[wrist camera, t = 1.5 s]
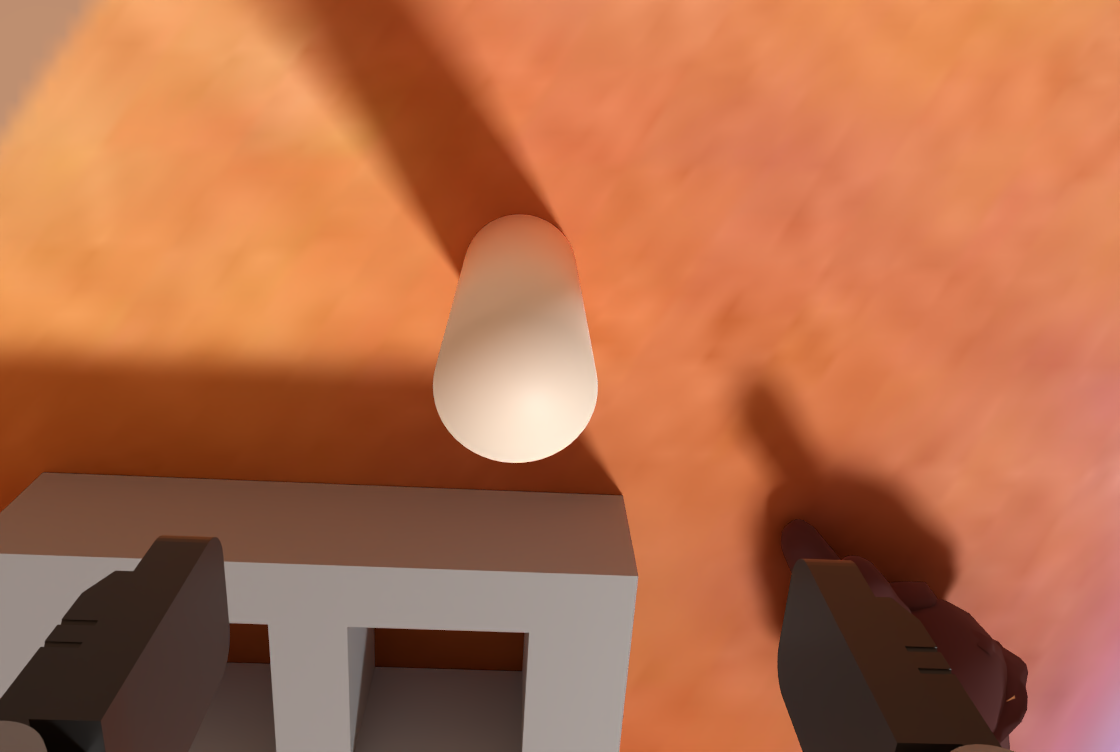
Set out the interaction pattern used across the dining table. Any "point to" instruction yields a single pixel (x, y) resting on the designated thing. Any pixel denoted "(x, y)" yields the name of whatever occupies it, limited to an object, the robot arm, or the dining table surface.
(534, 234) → the dowel
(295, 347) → the dining table surface
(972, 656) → the icecream
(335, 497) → the socket block
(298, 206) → the dining table surface
